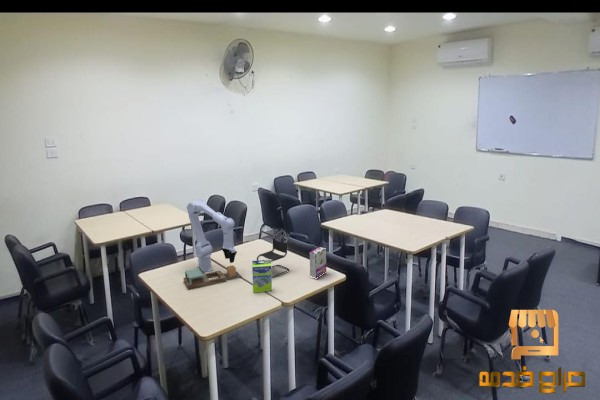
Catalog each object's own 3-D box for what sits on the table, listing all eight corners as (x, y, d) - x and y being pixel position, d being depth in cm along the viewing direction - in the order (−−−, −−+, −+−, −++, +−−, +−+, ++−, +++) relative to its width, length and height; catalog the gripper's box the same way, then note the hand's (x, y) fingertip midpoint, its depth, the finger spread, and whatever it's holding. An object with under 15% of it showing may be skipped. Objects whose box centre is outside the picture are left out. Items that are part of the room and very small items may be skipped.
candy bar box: (319, 271, 241) (319, 246, 238) (326, 273, 238) (326, 248, 235) (309, 277, 233) (309, 251, 229) (316, 280, 230) (316, 253, 226)
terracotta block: (227, 275, 237) (226, 266, 235) (233, 273, 239) (233, 265, 237) (229, 277, 233) (229, 268, 232) (236, 275, 235) (235, 267, 234)
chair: (291, 271, 243) (291, 237, 238) (270, 279, 231) (269, 244, 226) (278, 265, 252) (277, 232, 247) (256, 273, 240) (255, 239, 235)
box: (253, 293, 214) (252, 263, 210) (252, 289, 218) (251, 260, 214) (272, 291, 216) (271, 262, 212) (271, 288, 220) (270, 259, 216)
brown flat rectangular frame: (183, 281, 229) (183, 277, 228) (220, 274, 239) (220, 270, 238) (188, 289, 219) (188, 285, 218) (226, 281, 229) (226, 277, 228)
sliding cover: (185, 277, 229) (184, 267, 227) (200, 274, 233) (200, 264, 231) (189, 284, 219) (189, 274, 217) (205, 281, 223) (205, 271, 221)
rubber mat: (222, 274, 238) (222, 274, 238) (236, 271, 242) (236, 271, 242) (227, 280, 230) (227, 279, 230) (241, 277, 234) (241, 276, 234)
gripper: (217, 236, 236) (218, 257, 239) (226, 243, 224) (227, 265, 227) (228, 234, 240) (229, 255, 243) (238, 241, 227) (239, 263, 231)
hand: (229, 260), depth 235 cm, fingers open, 7 cm apart
